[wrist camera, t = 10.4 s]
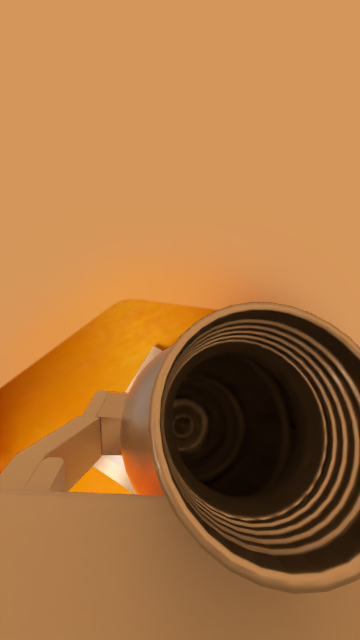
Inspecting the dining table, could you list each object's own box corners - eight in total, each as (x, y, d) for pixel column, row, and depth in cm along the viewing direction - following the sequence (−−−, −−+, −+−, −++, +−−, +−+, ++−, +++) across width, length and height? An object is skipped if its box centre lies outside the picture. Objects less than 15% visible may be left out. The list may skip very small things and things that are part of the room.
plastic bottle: (137, 410, 21) (-21, 321, 3) (196, 378, 23) (301, 206, 5) (166, 481, 19) (157, 1469, 1) (230, 439, 21) (652, 521, 3)
